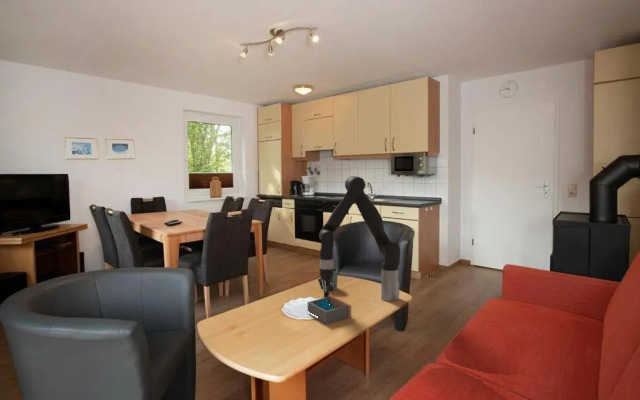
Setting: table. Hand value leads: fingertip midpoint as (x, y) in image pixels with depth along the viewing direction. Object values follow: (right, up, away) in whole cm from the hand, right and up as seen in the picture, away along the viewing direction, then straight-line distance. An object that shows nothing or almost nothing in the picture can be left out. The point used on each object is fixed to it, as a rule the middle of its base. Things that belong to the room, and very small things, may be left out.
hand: (326, 298), depth 188 cm
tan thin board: (+6, -5, -9) cm, 12 cm away
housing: (0, -5, -13) cm, 14 cm away
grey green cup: (+2, -2, +28) cm, 28 cm away
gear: (0, -5, -12) cm, 13 cm away
